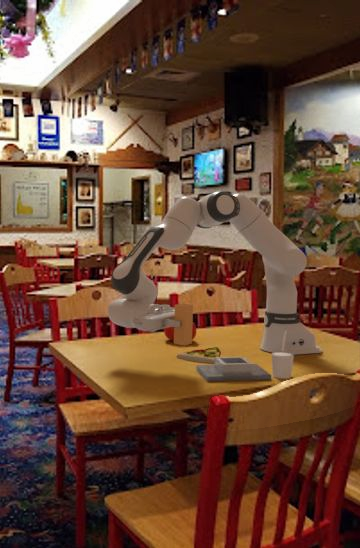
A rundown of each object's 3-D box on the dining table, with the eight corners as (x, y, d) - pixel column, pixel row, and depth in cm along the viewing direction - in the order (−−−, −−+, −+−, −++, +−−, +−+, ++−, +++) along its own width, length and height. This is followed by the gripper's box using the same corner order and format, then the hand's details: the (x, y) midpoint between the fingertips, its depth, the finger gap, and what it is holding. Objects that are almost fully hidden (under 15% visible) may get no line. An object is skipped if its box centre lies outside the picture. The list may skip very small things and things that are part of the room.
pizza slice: (173, 360, 220) (174, 351, 219) (200, 349, 238) (201, 341, 237) (214, 366, 212) (215, 357, 212) (239, 355, 230) (239, 346, 230)
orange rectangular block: (181, 341, 200) (182, 303, 199) (191, 343, 198) (193, 304, 197) (173, 343, 197) (174, 304, 196) (184, 345, 195) (185, 306, 193)
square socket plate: (256, 368, 209) (256, 354, 208) (271, 379, 195) (271, 365, 195) (196, 369, 205) (196, 355, 204) (207, 381, 191) (207, 366, 191)
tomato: (156, 341, 247) (157, 319, 246) (175, 336, 257) (175, 315, 256) (184, 346, 240) (185, 323, 239) (202, 340, 250) (202, 319, 249)
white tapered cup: (268, 373, 203) (269, 351, 203) (289, 373, 204) (290, 351, 203) (273, 378, 197) (274, 356, 196) (295, 379, 197) (296, 356, 196)
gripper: (129, 311, 196) (165, 316, 188) (169, 304, 212) (204, 308, 204) (128, 331, 196) (165, 338, 188) (168, 322, 213) (203, 328, 205)
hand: (185, 322), depth 196 cm, fingers closed on orange rectangular block, 4 cm apart
